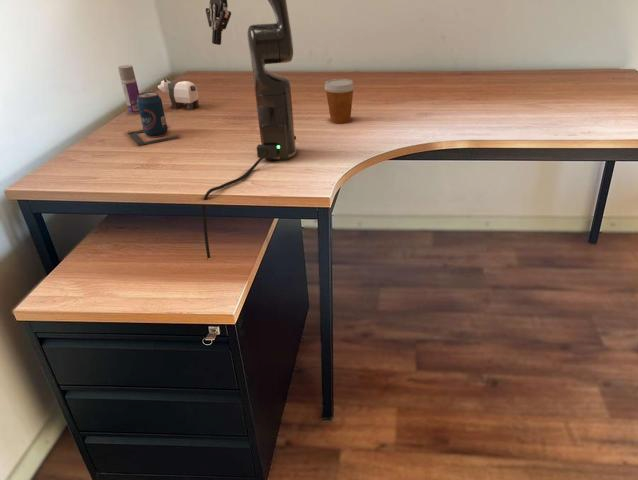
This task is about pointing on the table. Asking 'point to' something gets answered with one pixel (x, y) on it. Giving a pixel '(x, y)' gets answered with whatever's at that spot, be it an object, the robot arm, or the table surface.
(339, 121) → the disposable coffee cup
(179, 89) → the giant panda
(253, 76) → the robot arm
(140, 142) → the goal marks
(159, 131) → the soda can
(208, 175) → the table surface
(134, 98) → the container
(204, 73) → the table surface
